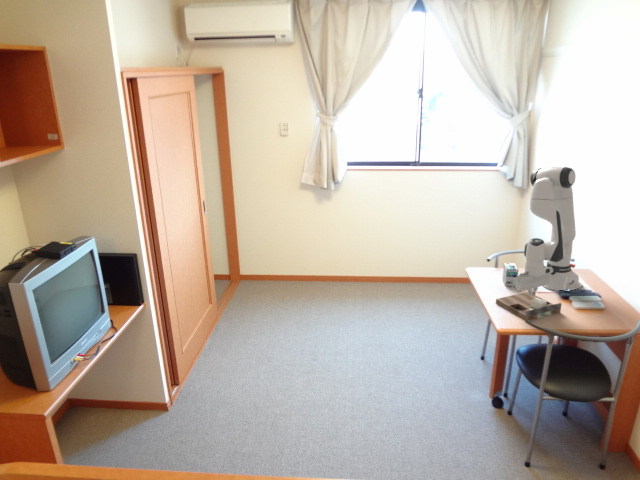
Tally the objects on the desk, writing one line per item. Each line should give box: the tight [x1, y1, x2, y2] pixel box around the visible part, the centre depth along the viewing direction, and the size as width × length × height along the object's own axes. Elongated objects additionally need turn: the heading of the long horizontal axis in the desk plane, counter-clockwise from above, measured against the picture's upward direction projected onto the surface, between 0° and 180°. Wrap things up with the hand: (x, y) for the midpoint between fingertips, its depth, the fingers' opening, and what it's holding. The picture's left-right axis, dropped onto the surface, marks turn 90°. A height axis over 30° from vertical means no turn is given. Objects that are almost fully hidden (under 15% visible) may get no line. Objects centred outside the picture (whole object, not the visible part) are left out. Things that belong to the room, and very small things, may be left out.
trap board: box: [495, 291, 562, 321], centre depth 247 cm, size 22×22×5 cm
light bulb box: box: [502, 262, 519, 287], centre depth 277 cm, size 11×7×11 cm, turn 168°
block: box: [530, 298, 547, 309], centre depth 243 cm, size 5×6×4 cm
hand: (532, 295), depth 246 cm, fingers closed
